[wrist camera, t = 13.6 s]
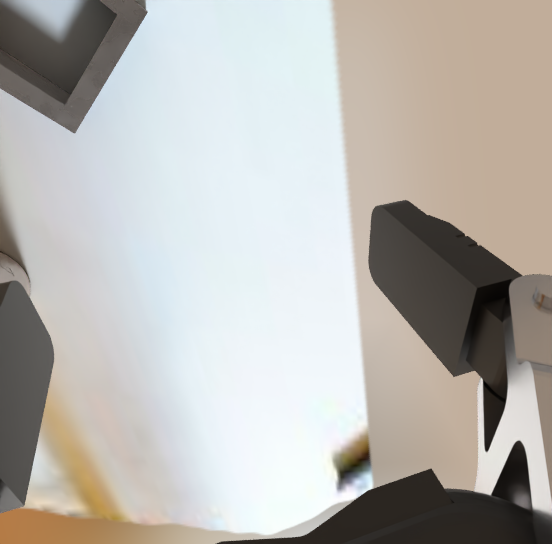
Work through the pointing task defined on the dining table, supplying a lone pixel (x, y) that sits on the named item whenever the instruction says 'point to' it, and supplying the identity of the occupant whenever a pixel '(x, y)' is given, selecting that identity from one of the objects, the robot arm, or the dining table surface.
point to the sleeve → (74, 107)
